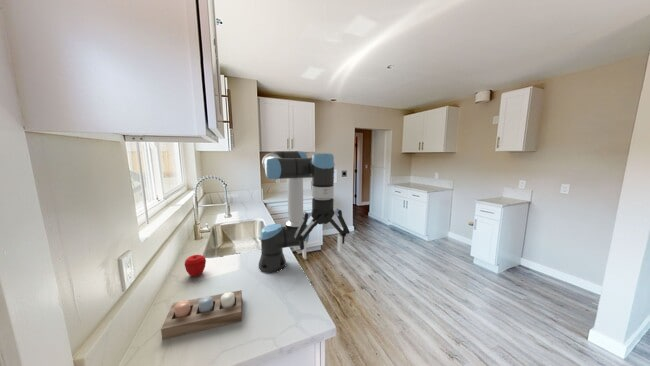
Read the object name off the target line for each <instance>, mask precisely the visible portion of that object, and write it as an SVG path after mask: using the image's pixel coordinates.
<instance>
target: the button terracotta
mask: <svg viewBox="0 0 650 366" xmlns="http://www.w3.org/2000/svg"><path fill="white" fill-rule="evenodd" d="M178 302H179V303H177V304H176V305H175V306H174V310H175V319H176V318H181V317H186V316H190V314H191V310H190V302H189V301H187V300H181V301H178Z"/></svg>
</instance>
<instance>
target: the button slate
mask: <svg viewBox="0 0 650 366" xmlns="http://www.w3.org/2000/svg"><path fill="white" fill-rule="evenodd" d="M211 296H212V295H209V296H207V295H206V296H203V297H200V298H201V299H200V300H199V302H198V305H199V314H200V313H205V312H209V311H214V309H213V298H212V297H211Z"/></svg>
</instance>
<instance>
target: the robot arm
mask: <svg viewBox="0 0 650 366" xmlns="http://www.w3.org/2000/svg"><path fill="white" fill-rule="evenodd" d="M334 159H335V157H334V155H333V154H332V153H327V152H326V153H325V152H323V153H322V152H321V153H317V152H316V153H313V154H312V155H311V157H308V154H307V153H306V152H305V151H300V150H298V151H297V150H294V151H293V150H291V151H290V150H284V151H283V150H282V151H279V150H276V151H272V152H269V153H267V154H265V155H264V156H263V157H262V160H261V165H262V167H263V168H262V169H264V170H265V171H264V173H265V177H266V179H268V180H282V179H283V180H284V179H286V180H287V215H288V218H287V219H288V220H287V221H285V226H283V225H282V224H280V223H272V224H269V225H266V226H264V227H263V228H262V229H261V231H260V247H261V249H260V250H261V252H260V253H261V254H260V257H259V261H258V270H259V269H260V270H261V271H260V270H259V271H260V272H263V273H265V272H266V273H265V274H267V273H268V274H272V273H273V272H274V273H278V272H280V270H281V269H282V270H284V269H285V268H286V266H287V261H286V258H285V257H286V256H285V255H284V252H283V251H284V250H283V249H285V248H292V247H299V248H300V250H301V252H302V258H303V259H304V260H307V244H308V242H309V240H310V234H311V232H312V231H313V229H314V228H315V227H317V225H324V224H325V225H326V224H328V223H330V224H331V225H332V227H334V228H335V230H337V232H338V234H337V248H336V249H337V252H338V253H339V254H340V255H341V254H343V245H344V244H345V238H346V236H347V235H348V234H349V235H350V230H349V228H348V225H347V223H346V221H345V219H344V217H343V211H342V210H341V209H340V208H336V209H335V210H334V202H335V201H334V194H335V193H334V192H335V191H334V188H335V187H334V179H335V160H334ZM310 178H311V183H312V184H311V197H312V199H311V212H307V211H304V179H310ZM334 216H336V217H337V218H338V222H339V223H340V225H341V227H342V229H343V230H342V229H341V227H340V225H338V223H336V221H335V220H334V219H333V217H334ZM310 218H311V219H310ZM309 219H310V222H309V223H308V220H309ZM307 223H308V224H307ZM285 265H286V266H285ZM284 267H285V268H284ZM283 268H284V269H283ZM282 270H281V271H282ZM277 271H278V272H277Z"/></svg>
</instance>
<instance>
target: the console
mask: <svg viewBox="0 0 650 366" xmlns="http://www.w3.org/2000/svg"><path fill="white" fill-rule="evenodd" d="M231 292H232V293H234V297H235V306H233V307H229V308H224V309H222V306H221V296H222V295H223V294H225V293H226V292H225V293H219V294H215V295H213V294H212V295H210V296H211V297H212V298H213V309H214V310H213V311H209V312H205V313H200V314H199V305H198V302H199V300H200V299H201V298H202V297H198V298H193V299H189V300H187V299H186V301H189V302H190V310H191V314H190V316H186V317H181V318H176V319H175V310H174V306H175V305H176V304H177V303H179V302H180V301H178V302H173V303H172V305H171V307H170V308H169V311H168V313H167V315H166V317H165V320H164V321H163V324H162V326H161V327H160V332H161V339H162V340H165V339H170V338H175V337H177V336H182V335H186V334H190V333H196V332H200V331H203V330H208V329H213V328H216V327H220V326H226V325H230V324H235V323H239V322H242V313H243V312H242V311H243V310H242V309H243V293H242V290H241V289H240V290H236V291H231Z"/></svg>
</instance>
